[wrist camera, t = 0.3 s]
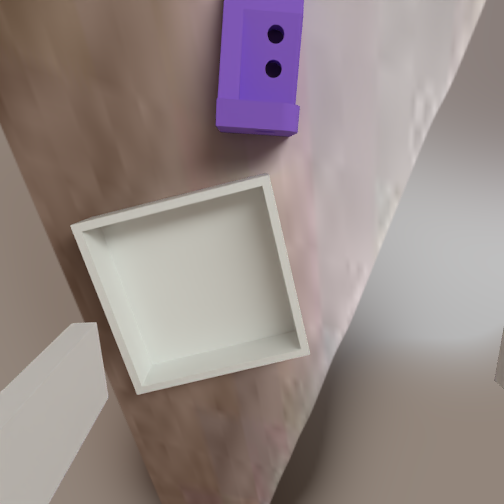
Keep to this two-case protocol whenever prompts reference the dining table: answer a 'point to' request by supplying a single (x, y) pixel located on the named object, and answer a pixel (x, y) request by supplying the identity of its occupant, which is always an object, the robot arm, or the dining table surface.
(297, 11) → the bracket
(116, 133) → the dining table surface
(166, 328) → the bin
